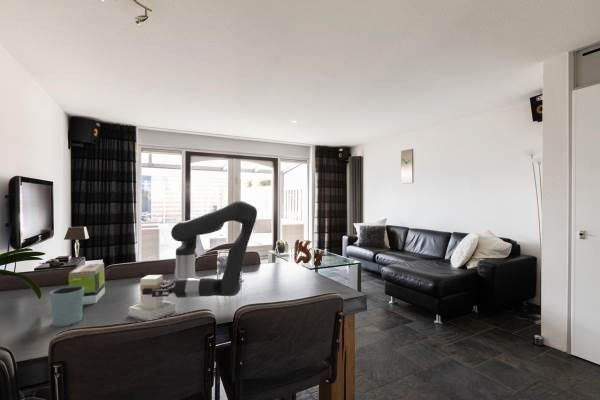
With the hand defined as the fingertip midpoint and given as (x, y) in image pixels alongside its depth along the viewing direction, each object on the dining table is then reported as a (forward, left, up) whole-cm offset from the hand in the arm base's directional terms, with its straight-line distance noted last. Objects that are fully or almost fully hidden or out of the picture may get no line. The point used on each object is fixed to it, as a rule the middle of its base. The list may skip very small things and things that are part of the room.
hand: (147, 288), depth 117 cm
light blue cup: (-20, -18, -10) cm, 29 cm away
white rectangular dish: (+2, +1, -10) cm, 10 cm away
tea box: (-39, -1, -11) cm, 41 cm away
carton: (+2, +1, -9) cm, 10 cm away
